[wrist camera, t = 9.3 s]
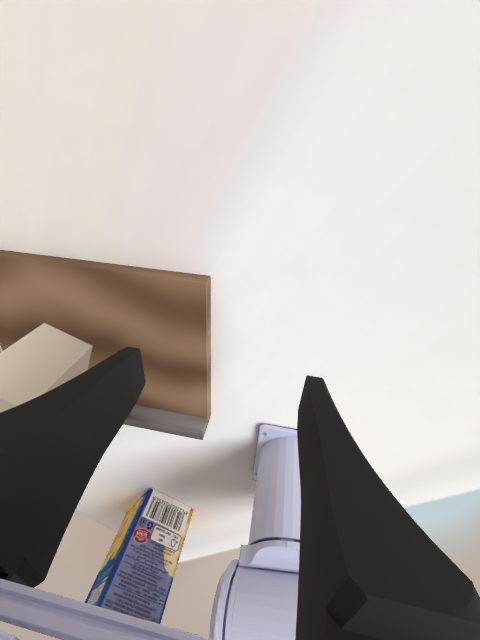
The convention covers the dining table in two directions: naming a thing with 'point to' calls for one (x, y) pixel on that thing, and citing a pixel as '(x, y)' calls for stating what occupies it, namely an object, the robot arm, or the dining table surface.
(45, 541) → the robot arm
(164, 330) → the shelf board
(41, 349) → the carton
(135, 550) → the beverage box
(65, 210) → the dining table surface
